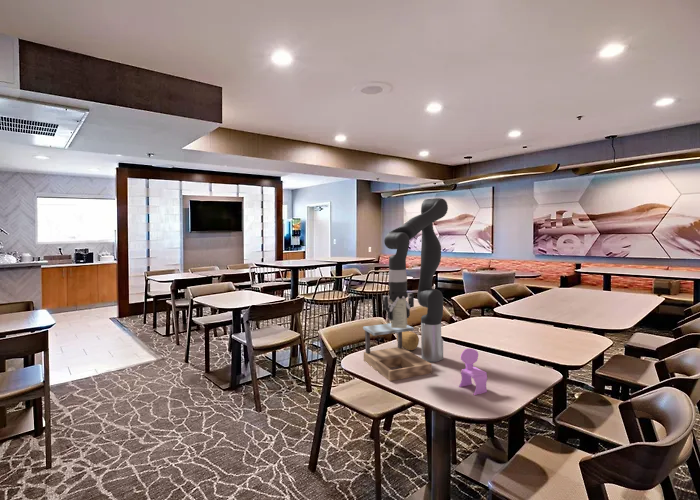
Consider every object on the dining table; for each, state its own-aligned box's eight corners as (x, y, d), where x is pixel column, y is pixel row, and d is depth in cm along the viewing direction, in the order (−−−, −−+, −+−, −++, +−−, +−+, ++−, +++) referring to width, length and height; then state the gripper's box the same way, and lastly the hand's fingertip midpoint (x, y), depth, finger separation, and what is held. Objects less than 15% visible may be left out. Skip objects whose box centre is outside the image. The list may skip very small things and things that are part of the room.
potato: (408, 343, 199) (408, 326, 199) (423, 352, 184) (422, 333, 184) (394, 345, 196) (393, 327, 196) (407, 354, 182) (407, 335, 181)
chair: (472, 396, 134) (472, 355, 134) (456, 387, 142) (456, 349, 142) (490, 392, 138) (490, 352, 137) (473, 383, 146) (473, 345, 145)
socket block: (401, 354, 181) (400, 321, 180) (431, 373, 157) (431, 335, 156) (363, 360, 174) (363, 326, 173) (389, 381, 150) (389, 341, 149)
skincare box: (407, 325, 157) (406, 297, 157) (405, 328, 153) (405, 299, 152) (392, 325, 159) (391, 297, 158) (390, 327, 155) (389, 298, 154)
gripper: (407, 277, 161) (408, 315, 162) (378, 280, 156) (379, 319, 157) (417, 279, 154) (418, 318, 155) (386, 282, 149) (388, 323, 150)
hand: (398, 318), depth 156 cm, fingers closed on skincare box, 7 cm apart
